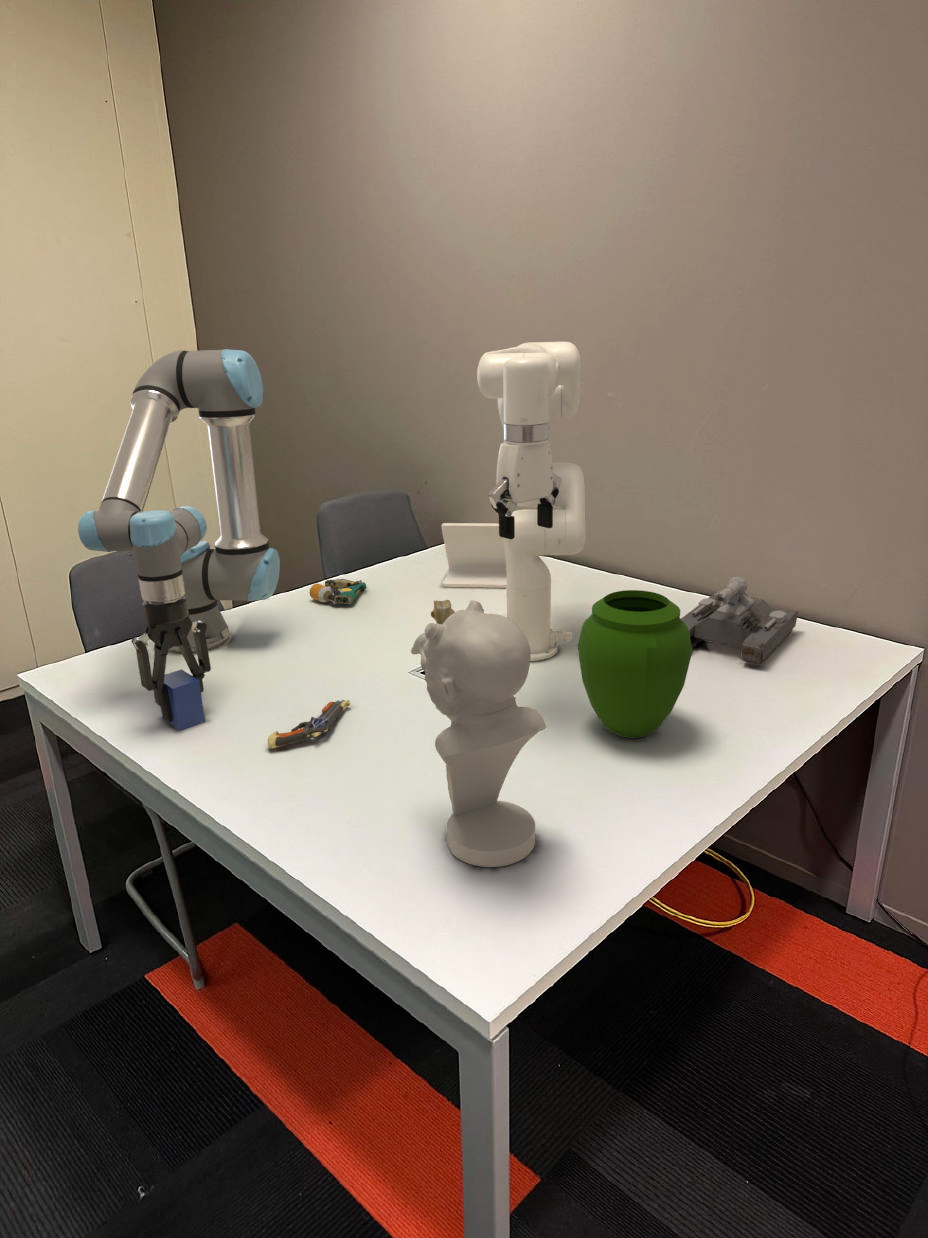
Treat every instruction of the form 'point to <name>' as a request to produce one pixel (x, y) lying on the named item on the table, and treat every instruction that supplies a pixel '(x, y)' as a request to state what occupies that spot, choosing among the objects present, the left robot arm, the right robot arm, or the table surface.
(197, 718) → the block
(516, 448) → the right robot arm
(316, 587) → the spray gun
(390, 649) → the table surface
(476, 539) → the tablet stand
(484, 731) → the bust sculpture
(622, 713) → the vase
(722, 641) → the toy
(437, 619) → the sculpture
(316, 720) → the toy gun
